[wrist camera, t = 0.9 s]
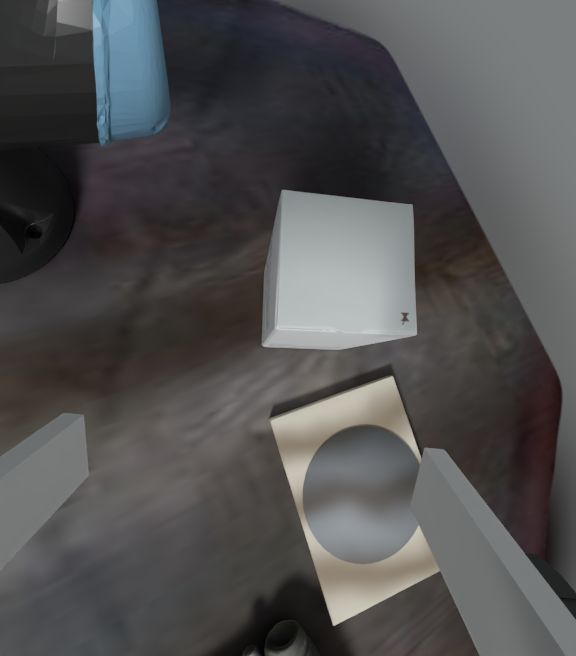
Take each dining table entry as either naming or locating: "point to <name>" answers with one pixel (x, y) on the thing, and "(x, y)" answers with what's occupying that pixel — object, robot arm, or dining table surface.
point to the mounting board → (356, 494)
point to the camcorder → (285, 642)
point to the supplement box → (339, 273)
